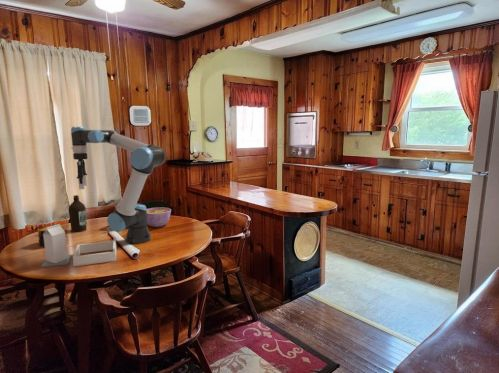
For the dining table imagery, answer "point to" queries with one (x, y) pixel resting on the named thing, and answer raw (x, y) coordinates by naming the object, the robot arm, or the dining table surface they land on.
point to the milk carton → (55, 244)
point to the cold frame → (97, 257)
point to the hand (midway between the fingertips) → (83, 187)
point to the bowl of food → (158, 216)
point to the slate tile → (49, 264)
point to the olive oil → (77, 215)
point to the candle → (41, 237)
